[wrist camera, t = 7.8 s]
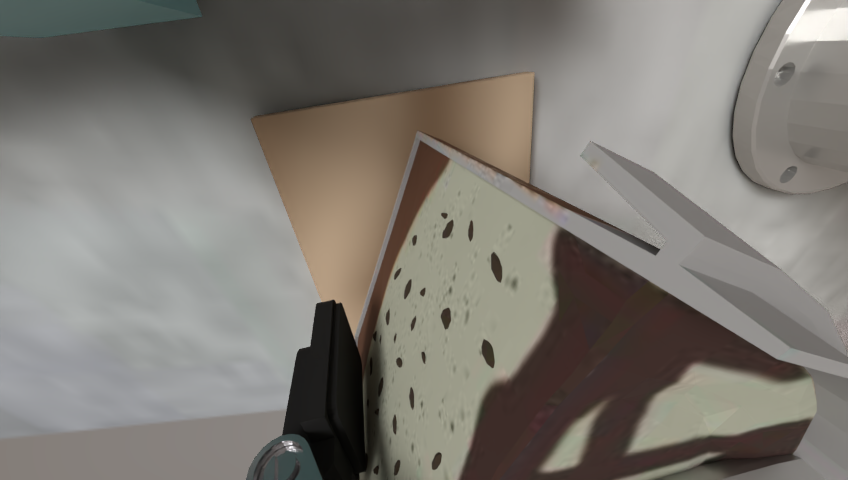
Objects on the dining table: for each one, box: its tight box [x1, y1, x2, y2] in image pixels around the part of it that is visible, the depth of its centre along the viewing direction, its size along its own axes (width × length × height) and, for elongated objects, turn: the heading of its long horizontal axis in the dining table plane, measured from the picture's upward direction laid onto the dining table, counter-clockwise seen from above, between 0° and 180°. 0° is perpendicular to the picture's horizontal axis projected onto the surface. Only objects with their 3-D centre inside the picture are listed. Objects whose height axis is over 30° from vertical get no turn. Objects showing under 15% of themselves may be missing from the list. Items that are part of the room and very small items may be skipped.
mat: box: [251, 72, 534, 336], centre depth 15 cm, size 10×13×1 cm
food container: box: [354, 130, 848, 480], centre depth 9 cm, size 12×6×10 cm, turn 162°
